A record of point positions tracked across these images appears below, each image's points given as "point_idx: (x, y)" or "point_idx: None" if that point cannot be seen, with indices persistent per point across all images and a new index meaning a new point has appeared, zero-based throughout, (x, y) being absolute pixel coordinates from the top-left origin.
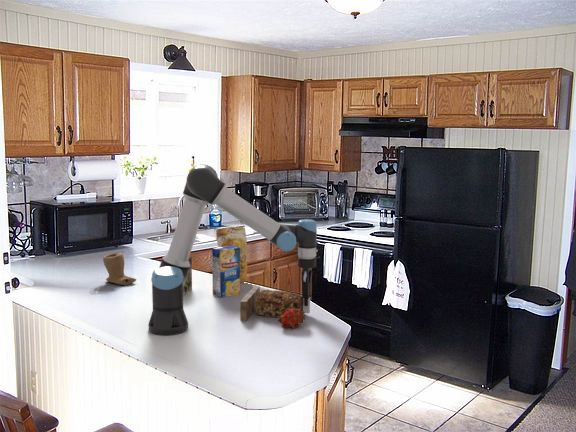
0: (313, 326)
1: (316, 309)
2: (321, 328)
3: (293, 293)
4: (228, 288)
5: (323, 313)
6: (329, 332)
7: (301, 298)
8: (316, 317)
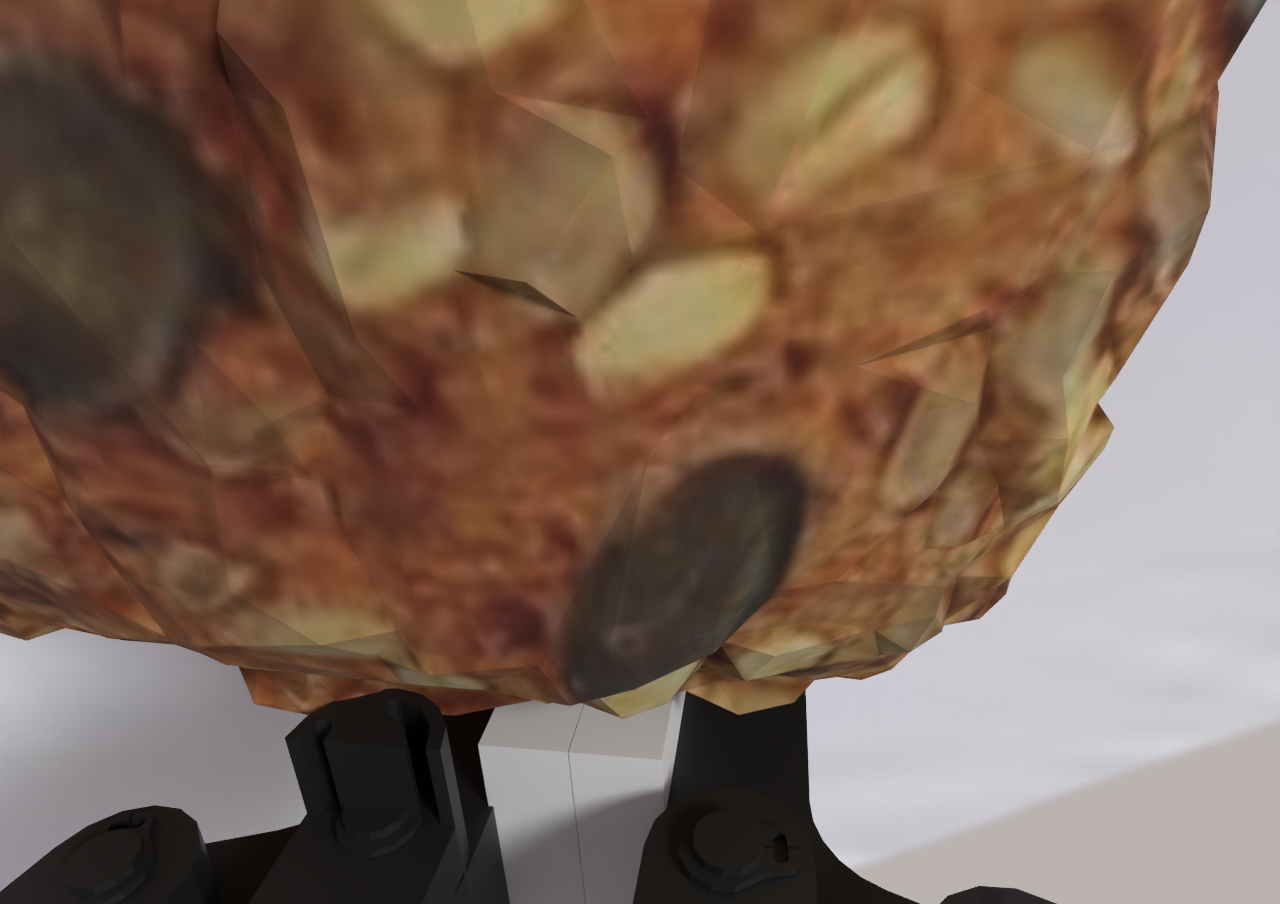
0: (106, 660)
1: (1258, 647)
2: (88, 769)
3: (323, 267)
4: None
5: (924, 785)
6: (2, 857)
7: (304, 694)
8: None
